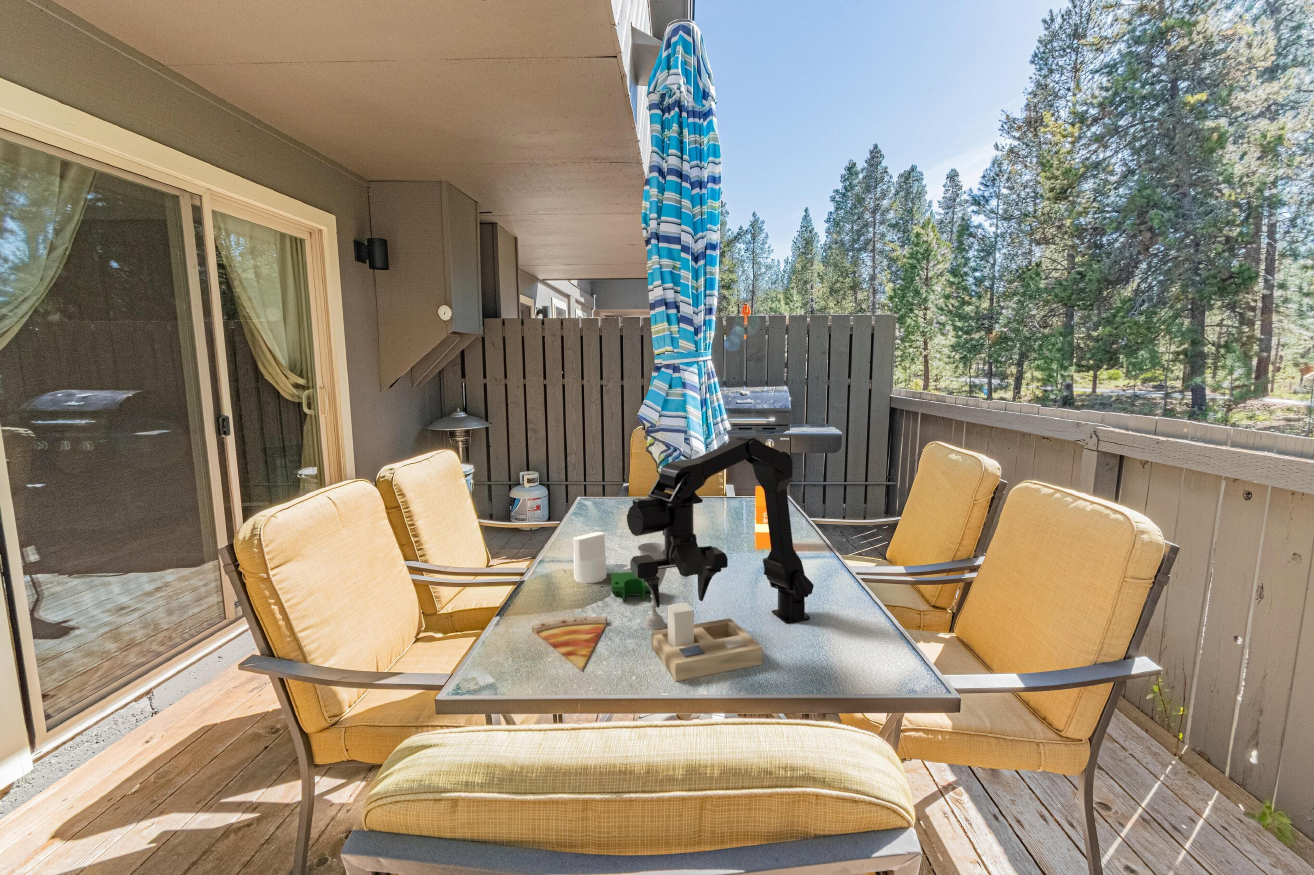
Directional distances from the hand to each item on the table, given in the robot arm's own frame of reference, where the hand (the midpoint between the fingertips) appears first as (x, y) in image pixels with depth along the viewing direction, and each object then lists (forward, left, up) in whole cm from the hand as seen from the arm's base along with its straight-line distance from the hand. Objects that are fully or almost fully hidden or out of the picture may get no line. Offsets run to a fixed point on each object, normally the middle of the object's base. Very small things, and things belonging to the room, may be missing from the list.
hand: (679, 603), depth 114 cm
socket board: (+2, +5, -11) cm, 12 cm away
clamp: (-32, 0, -11) cm, 34 cm away
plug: (0, 0, -11) cm, 11 cm away
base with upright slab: (-50, -7, -11) cm, 52 cm away
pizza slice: (-14, -22, -12) cm, 28 cm away
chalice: (-15, 0, -11) cm, 19 cm away
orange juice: (-56, +53, -11) cm, 78 cm away
